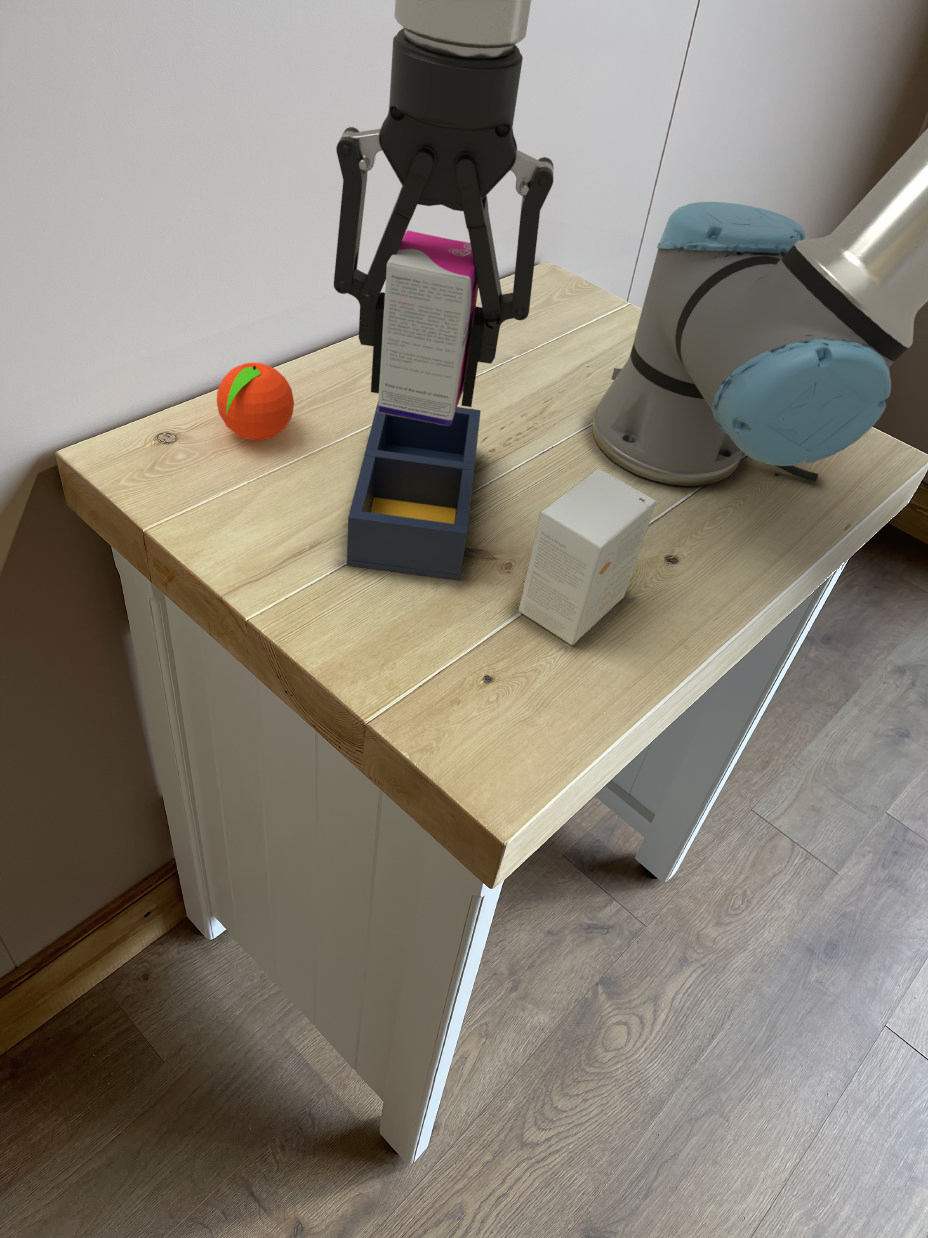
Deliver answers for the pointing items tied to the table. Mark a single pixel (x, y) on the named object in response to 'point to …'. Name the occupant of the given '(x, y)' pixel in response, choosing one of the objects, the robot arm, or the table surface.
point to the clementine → (255, 401)
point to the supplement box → (427, 328)
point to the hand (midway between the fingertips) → (423, 389)
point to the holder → (414, 495)
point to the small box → (584, 554)
